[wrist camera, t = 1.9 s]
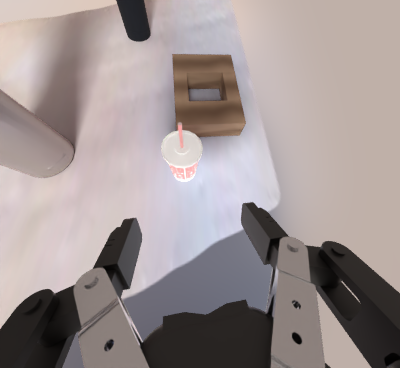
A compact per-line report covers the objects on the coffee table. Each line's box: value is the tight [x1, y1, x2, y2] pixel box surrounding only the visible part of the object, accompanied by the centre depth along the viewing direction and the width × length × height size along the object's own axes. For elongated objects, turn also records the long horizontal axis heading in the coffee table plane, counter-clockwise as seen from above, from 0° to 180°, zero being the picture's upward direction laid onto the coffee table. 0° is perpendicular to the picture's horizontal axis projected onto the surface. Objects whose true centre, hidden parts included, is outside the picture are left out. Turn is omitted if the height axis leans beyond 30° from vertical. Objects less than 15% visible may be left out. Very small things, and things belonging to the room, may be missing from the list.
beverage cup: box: [161, 122, 203, 182], centre depth 24 cm, size 6×6×14 cm
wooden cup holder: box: [172, 54, 246, 137], centre depth 34 cm, size 20×14×4 cm
